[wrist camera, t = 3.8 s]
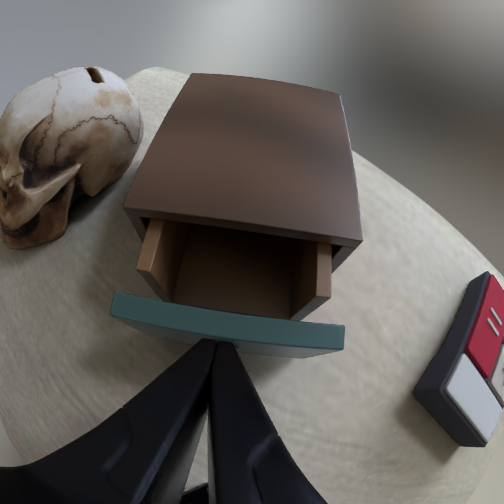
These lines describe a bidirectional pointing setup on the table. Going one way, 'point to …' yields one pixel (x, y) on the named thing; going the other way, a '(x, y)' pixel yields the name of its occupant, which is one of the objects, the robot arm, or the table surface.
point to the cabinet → (252, 163)
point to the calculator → (469, 367)
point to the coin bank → (62, 149)
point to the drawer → (232, 290)
